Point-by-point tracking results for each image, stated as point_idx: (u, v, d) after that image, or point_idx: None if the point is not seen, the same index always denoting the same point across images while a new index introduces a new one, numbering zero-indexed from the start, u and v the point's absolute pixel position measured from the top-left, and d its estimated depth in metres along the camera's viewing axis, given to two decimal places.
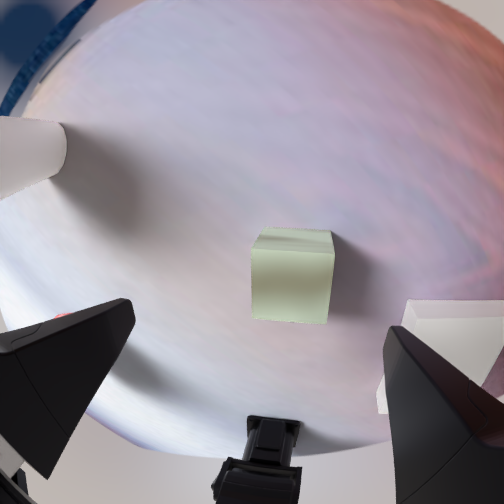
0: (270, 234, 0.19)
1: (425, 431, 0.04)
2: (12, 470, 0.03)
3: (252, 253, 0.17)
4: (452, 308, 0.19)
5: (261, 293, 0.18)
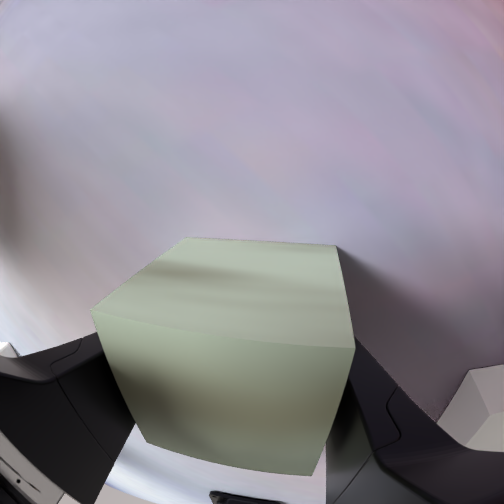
0: (180, 259, 0.08)
1: (343, 436, 0.05)
2: None
3: (96, 322, 0.05)
4: None
5: (146, 411, 0.06)
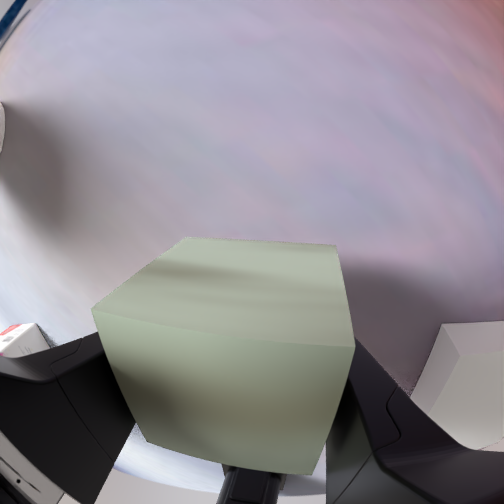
0: (181, 258, 0.08)
1: (343, 436, 0.05)
2: None
3: (96, 322, 0.05)
4: (500, 334, 0.11)
5: (146, 410, 0.06)
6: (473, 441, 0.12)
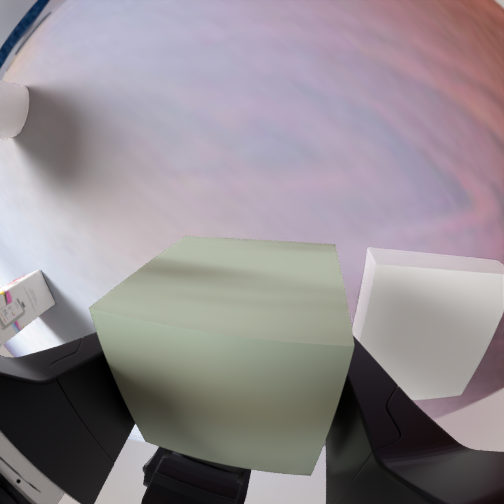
0: (179, 257, 0.08)
1: (343, 436, 0.05)
2: None
3: (94, 321, 0.05)
4: (428, 259, 0.16)
5: (145, 410, 0.06)
6: (427, 384, 0.17)
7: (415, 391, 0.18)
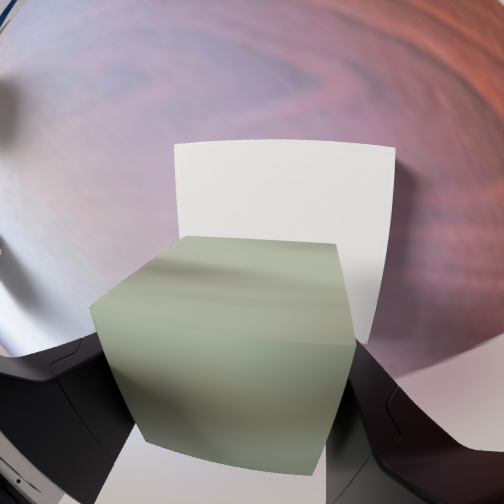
0: (180, 257, 0.08)
1: (343, 436, 0.05)
2: None
3: (95, 320, 0.05)
4: None
5: (145, 410, 0.06)
6: None
7: None
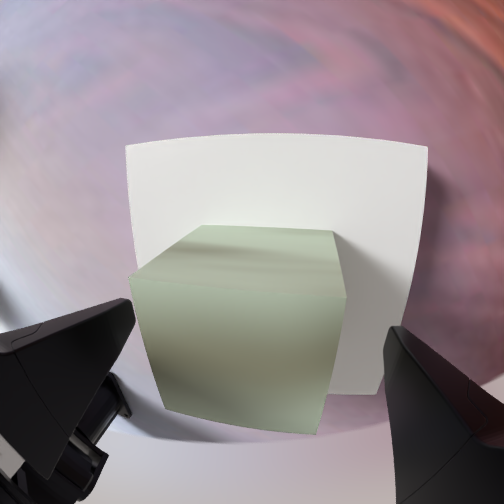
0: (200, 240, 0.09)
1: (425, 431, 0.04)
2: (12, 471, 0.03)
3: (132, 288, 0.06)
4: None
5: (169, 372, 0.07)
6: None
7: None
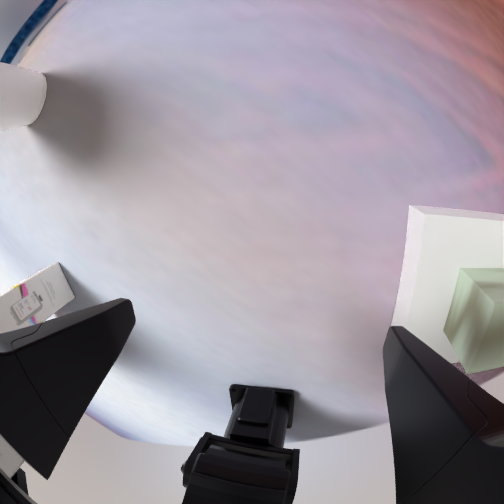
0: (480, 280, 0.13)
1: (425, 431, 0.04)
2: (12, 471, 0.03)
3: (494, 308, 0.10)
4: (465, 213, 0.15)
5: (485, 347, 0.11)
6: None
7: None
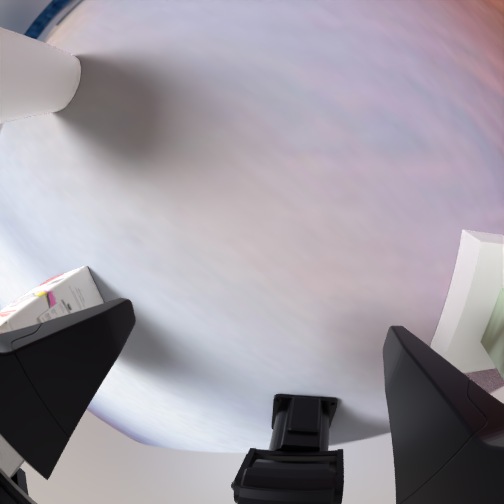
0: None
1: (425, 431, 0.04)
2: (12, 471, 0.03)
3: None
4: None
5: None
6: None
7: (491, 360, 0.16)
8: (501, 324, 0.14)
